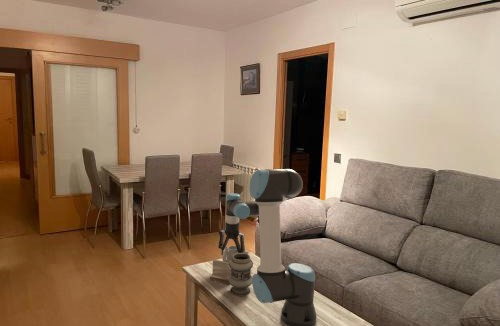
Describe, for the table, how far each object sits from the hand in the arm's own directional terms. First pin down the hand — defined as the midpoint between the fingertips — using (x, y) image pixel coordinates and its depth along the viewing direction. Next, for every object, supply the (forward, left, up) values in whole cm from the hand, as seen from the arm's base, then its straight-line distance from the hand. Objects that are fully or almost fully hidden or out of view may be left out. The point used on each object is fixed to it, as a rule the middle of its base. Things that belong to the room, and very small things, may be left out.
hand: (231, 262), depth 194 cm
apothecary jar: (-17, -13, -6) cm, 22 cm away
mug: (0, 0, -2) cm, 2 cm away
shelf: (0, 0, -6) cm, 6 cm away
